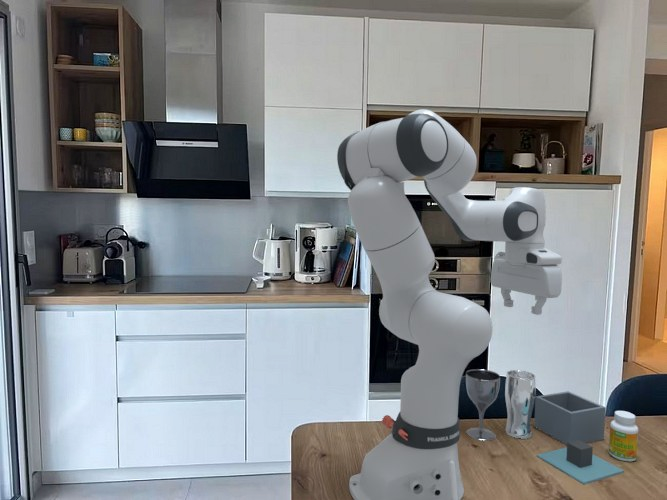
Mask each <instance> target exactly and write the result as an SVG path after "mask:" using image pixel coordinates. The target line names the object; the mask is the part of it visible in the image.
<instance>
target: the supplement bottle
mask: <svg viewBox="0 0 667 500" xmlns="http://www.w3.org/2000/svg"><path fill="white" fill-rule="evenodd" d="M638 439H639V426H637V425H636V415H635V414H633V413H631V412H629V411H625V410H615V411H614V418H613V420H612V421H610V426H609V442H608V453H609V455H610V456H611V457H613V458H614V459H616V460H619V461H624V462H633V461H636V460H637V458H638V457H637V455H638V443H639V442H638V441H639V440H638Z"/></svg>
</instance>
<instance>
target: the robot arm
mask: <svg viewBox="0 0 667 500" xmlns="http://www.w3.org/2000/svg"><path fill="white" fill-rule="evenodd" d="M337 148H338V149H337V155H336V159H337V161H336V162H337V167H338V169H339V173H340V176H341V178H342V180H343V181H344V184H345V186H346V187H347V188H348V189H349V190H350V192H349V193H348V197H347V205H348V210H349V214H350V218H351V220H352V222H353V226H354V228H355V229H354V230H355V232H356V234H357V236H358V239H359V241H360V243H361V246H362V248H363V250H364V252H365V254H366V255H367V258H368V260H369V261H370V264H371V265H372V266H371V267H373V270H374V272H375V274H376V276H377V279H378V281H379V284H380V286H381V288H380V289H381V292H382V299H381V301H380V304H379V309H378V312H379V313H378V315H379V319H380V322H381V324H382V325H383V326H384V328H386V329H387V331H389V332H390V333H392V334H393V335H395V336H396V337H397V338H399V339H401V340H404V341H407V342H409V343H412V344H414V345H417V346H418V355H417V360H416V362H415V365H413V366H411V367H408V369H406V370H405V371H404V372H403V374H402V375H401V379H400V406H399V408H400V409H399V410H400V411H399V412H398V415H397V417H396V419H394V418H392V417H391V415H388V414H386V415H384V416H383V418H382V419H381V424H383V425H384V426H385V427H386V428H387V429H391V433H390V434H388V435H387V436H386V437H385V438H384V439H382V440H381V441H380V442H379V443H378V444H377V445H375V446H374V447H373V448H372V449H371V450H369V451H368V452H367V453H366V454H365V456H364V457H363V460H362V463H361V464H362V465H361V469H360V473H356V474H354V475H352V476H350V478H349V481H348V482H349V483H348V488H349V489H348V490H349V493H350V495H351V496H352V497H351V498H353V500H462V498H463V497H464V494H465V488H464V484H463V480H462V475H461V471H460V463H459V451H458V446H459V445H458V442H459V441H460V435H461V434H460V433H461V432H460V431H461V430H460V429H461V427H460V424H461V423H460V418H459V417H458V415H459V399H460V398H459V397H460V385H461V383H462V378H463V375H464V372H465V369H467V366H468V365H469V364H470V362H471V361H472V360H474V359H475V358H476V357H479V356H480V355H481V354H482V353H483V352H485V351H486V349H487V347H488V346H489V344H490V342H491V341H492V337H493V336H492V335H493V331H494V330H493V322H492V321H493V320H492V318H491V315H490V313H489V311H488V310H487V308H485V307H483V306H481V305H480V304H478V303H476V302H475V301H472V300H470V299H468V298H466V297H463V296H460V295H459V296H458V295H456V294H455V295H453V294H450V293H444V292H440V291H438V290H437V289H435V288H434V286H432V284H431V282H430V279H429V275H430V274H431V272H432V270H433V268H434V266H435V263H436V262H435V261H436V257H435V253H434V251H433V248H432V246H431V245H430V242H429V240H428V237H427V235H426V233H425V231H424V228H423V226H422V223H421V222H420V220H419V217H418V215H417V214H416V211H415V209H414V208H413V206H412V204H411V202H410V201H409V199H408V198H407V196H406V192H405V181H406V182H407V181H409V180H412V179H416V178H420V177H421V178H422V179H423V183H424V187H425V190H426V192H427V193H428V194H429V196H430V197H431V199H432V200H433V201H434V203H435V204H436V205H437V206H438V208H440V209H441V211H442V212H443V214H444V215H445V216H446V217H447V218H448V219H449V220H448V221H450V223H451V225H452V227H453V230H454V232H455V233H456V235H457V236H458V237H459V238H460V239H461V240H463V241H465V242H479V241H482V242H483V241H484V242H503V243H504V242H505V245H504V246H505V247H504V251H499V252H497V253H496V254H495V255H494V257H493V263H492V266H491V273H490V283H491V286H492V287H494V288H500V293H501V296H502V299H503V306H504V307H506V308H513V307H514V299H512V297H511V293H512V291H513V292H518V293H522V294H527V295H531V296H534V299H535V300H534V301H536V302H535V304H534V305H532V306H531V314H532V315H537V316H539V315H540V316H541V315H542V313H543V312H542V311H543V307H544V306H545V304H546V302H547V299H554V298H555V299H556V298H559V296H560V295H561V293H562V287H563V286H562V283H563V282H562V281H563V277H562V275H563V274H562V270H561V268H560V265H561V264H562V256H561V254H558V253H556V252H554V251H552V250H550V249H549V248H547V247H545V237H544V230H545V226H546V219H547V218H546V217H547V213H546V200H545V195H544V192H543V191H542V190H541V189H539V188H537V187H534V186H515V187H513V188H511V189H510V191H509V195H507V196H506V197H504V198H502V199H499V200H476V199H475V200H473V199H468V198H466V197H465V195H464V194H463V192H462V190H463V189H464V188H466V187H467V185H468V184H470V182H471V181H472V179H473V178H474V177H475V176H474V175H475V173H476V170H477V164H478V162H477V160H478V159H477V155H476V153H475V151H474V149H473V147H472V145H470V143H469V142H468V141H467V140H466V139H465V137H463V136H462V135H461V134H460V132H459V131H458V130H457V129H456V128H455V127H454V126H453V125H451V123H450V122H448V121H446V120H445V119H444V118H443V117H441V116H440V115H438V113H435V112H434V111H432V110H429V109H425V108H424V109H417V110H414V111H413V112H410V113H408V115H405V116H404V117H400V118H395V119H390V120H386V121H379V122H378V123H375V124H372V125H370V126H368V127H366V128H363V129H362V130H359V131H355V132H353V133H351V134H350V135H349V136H347V137H346V138H344V140H342V141H341V143H340V144H339V145H338V147H337Z"/></svg>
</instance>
